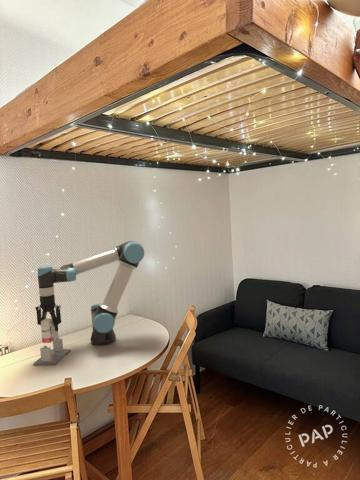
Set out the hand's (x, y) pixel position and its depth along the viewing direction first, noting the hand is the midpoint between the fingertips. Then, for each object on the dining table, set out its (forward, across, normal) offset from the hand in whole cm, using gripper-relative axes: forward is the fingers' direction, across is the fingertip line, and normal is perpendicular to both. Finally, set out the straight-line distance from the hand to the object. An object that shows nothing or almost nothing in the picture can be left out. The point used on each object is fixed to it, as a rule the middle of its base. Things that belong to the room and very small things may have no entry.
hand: (50, 336), depth 180 cm
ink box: (+2, 0, 0) cm, 2 cm away
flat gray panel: (+12, 0, 0) cm, 12 cm away
